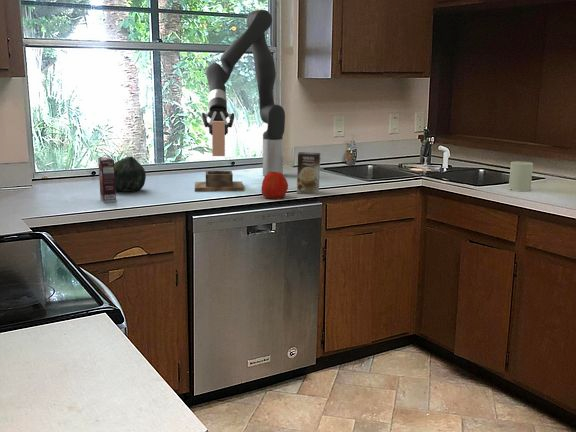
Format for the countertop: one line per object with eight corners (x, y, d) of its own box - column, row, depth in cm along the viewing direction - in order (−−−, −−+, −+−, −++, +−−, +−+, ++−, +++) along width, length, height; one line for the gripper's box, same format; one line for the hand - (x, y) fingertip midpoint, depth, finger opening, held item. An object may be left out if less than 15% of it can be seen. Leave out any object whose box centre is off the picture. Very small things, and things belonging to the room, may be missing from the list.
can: (530, 188, 277) (533, 161, 274) (531, 192, 268) (533, 163, 265) (508, 187, 280) (510, 159, 277) (508, 190, 271) (510, 162, 268)
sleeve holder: (241, 184, 277) (241, 169, 275) (243, 191, 262) (243, 175, 261) (195, 185, 274) (195, 170, 273) (194, 191, 260) (194, 175, 258)
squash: (104, 174, 264) (108, 150, 253) (141, 174, 270) (146, 150, 259) (108, 202, 257) (112, 178, 246) (146, 201, 263) (151, 177, 252)
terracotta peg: (224, 154, 268) (224, 121, 265) (224, 156, 263) (224, 121, 260) (212, 154, 267) (212, 120, 264) (212, 156, 262) (212, 121, 259)
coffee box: (296, 193, 259) (296, 153, 255) (297, 190, 265) (298, 152, 261) (318, 194, 258) (319, 154, 254) (319, 191, 264) (320, 152, 260)
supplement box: (99, 198, 243) (97, 157, 239) (112, 198, 245) (110, 156, 241) (103, 203, 235) (101, 160, 231) (116, 202, 237) (114, 159, 233)
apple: (291, 196, 252) (291, 170, 250) (280, 201, 243) (280, 173, 241) (268, 194, 256) (268, 168, 254) (256, 198, 247) (256, 171, 245)
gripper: (200, 96, 266) (200, 127, 257) (235, 96, 268) (236, 128, 259) (200, 108, 273) (201, 139, 264) (234, 108, 275) (235, 139, 266)
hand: (218, 133), depth 261 cm, fingers closed on terracotta peg, 5 cm apart
